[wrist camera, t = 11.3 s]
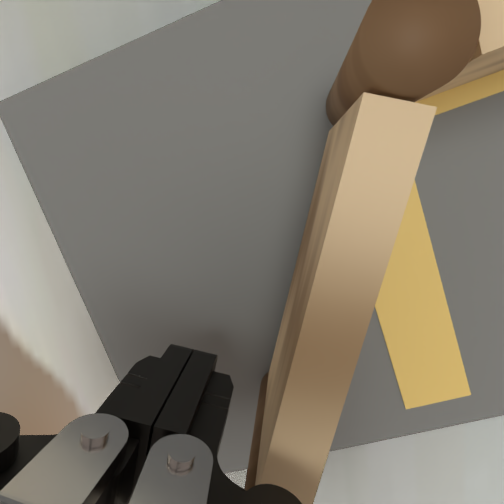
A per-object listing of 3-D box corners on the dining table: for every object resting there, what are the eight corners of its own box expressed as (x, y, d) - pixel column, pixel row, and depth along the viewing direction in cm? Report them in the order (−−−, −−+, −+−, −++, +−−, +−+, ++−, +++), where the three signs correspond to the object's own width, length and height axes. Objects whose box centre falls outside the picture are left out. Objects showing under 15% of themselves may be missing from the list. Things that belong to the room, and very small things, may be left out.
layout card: (748, -228, 10) (783, -259, 9) (795, 340, 12) (824, 350, 12) (7, 106, 14) (-8, 103, 13) (171, 474, 17) (165, 487, 16)
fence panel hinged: (322, 129, 12) (351, 89, 6) (371, 140, 12) (449, 109, 6) (256, 400, 14) (231, 558, 8) (296, 410, 14) (298, 578, 8)
